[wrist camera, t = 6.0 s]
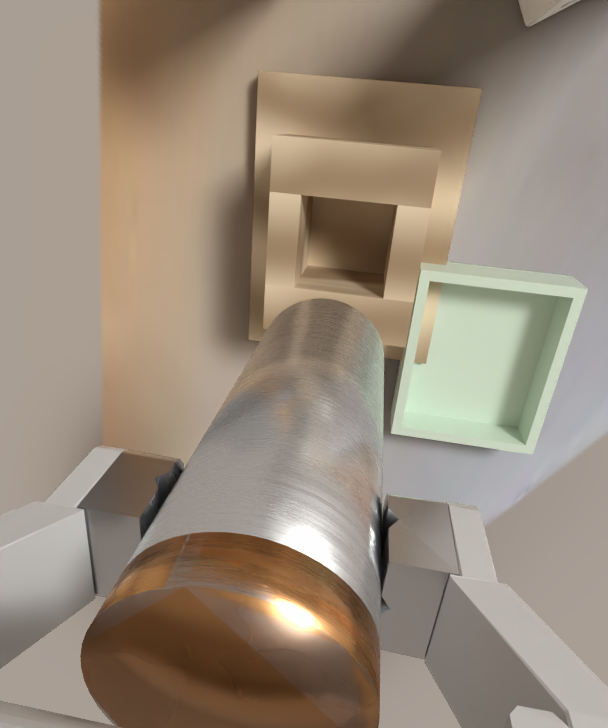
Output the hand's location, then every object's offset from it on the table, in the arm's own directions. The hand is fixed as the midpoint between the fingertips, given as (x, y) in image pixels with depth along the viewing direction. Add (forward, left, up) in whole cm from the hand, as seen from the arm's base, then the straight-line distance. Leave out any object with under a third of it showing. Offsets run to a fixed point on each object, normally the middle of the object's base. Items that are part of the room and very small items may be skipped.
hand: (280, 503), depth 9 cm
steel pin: (0, 0, -7) cm, 7 cm away
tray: (+7, +9, -25) cm, 27 cm away
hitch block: (0, 0, -25) cm, 25 cm away
